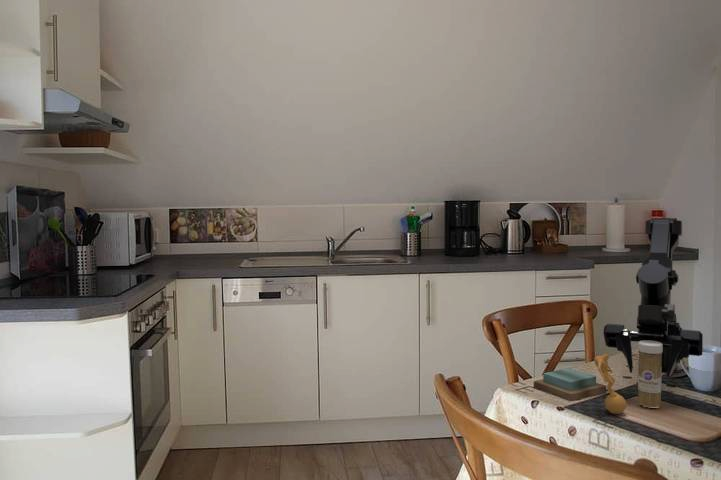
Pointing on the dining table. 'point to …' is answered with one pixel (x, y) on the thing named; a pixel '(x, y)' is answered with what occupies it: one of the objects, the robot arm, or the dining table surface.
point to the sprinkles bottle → (650, 373)
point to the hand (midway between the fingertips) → (649, 374)
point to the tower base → (570, 393)
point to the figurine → (614, 400)
